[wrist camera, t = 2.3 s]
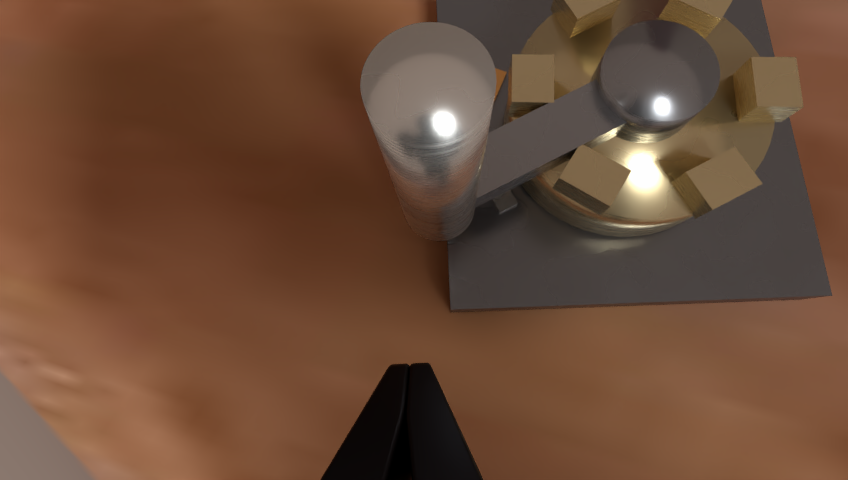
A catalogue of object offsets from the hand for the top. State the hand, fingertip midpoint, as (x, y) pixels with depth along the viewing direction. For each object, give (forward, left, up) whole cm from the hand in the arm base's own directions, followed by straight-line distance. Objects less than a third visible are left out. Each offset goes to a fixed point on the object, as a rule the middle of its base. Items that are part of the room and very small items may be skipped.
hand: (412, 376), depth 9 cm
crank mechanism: (+8, -6, -7) cm, 12 cm away
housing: (+9, -8, -9) cm, 15 cm away
